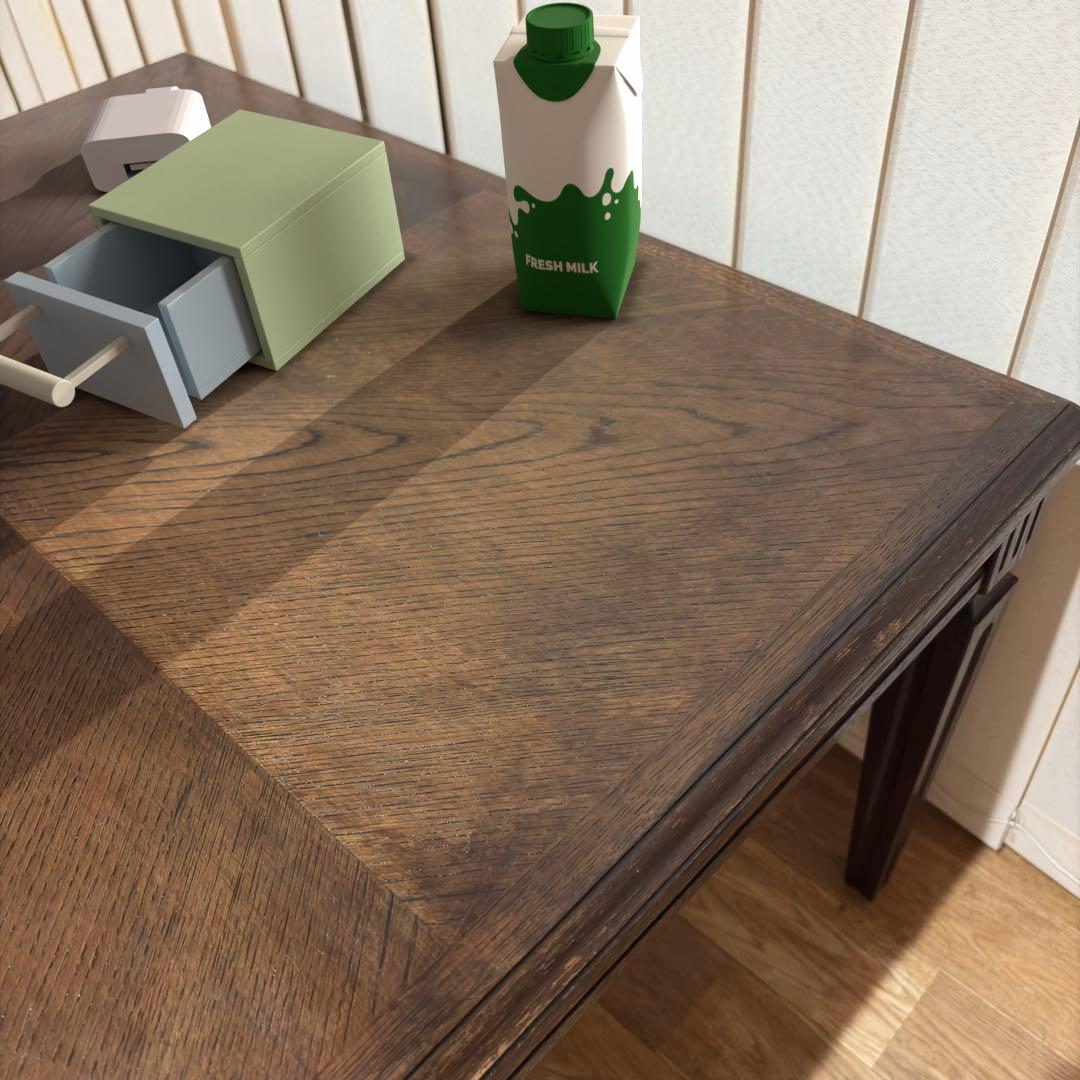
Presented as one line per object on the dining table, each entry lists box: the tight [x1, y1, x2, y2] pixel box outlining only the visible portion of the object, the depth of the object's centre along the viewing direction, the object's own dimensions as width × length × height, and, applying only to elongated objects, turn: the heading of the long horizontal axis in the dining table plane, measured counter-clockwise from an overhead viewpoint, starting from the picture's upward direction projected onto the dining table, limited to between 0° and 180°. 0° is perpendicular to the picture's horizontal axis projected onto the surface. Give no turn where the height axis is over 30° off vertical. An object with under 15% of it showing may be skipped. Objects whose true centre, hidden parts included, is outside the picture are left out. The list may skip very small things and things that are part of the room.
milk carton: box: [492, 2, 644, 320], centre depth 71 cm, size 9×9×20 cm
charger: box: [80, 85, 212, 193], centre depth 97 cm, size 5×9×15 cm
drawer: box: [0, 221, 262, 429], centre depth 70 cm, size 21×12×8 cm, turn 150°
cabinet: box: [88, 109, 406, 372], centre depth 77 cm, size 16×14×10 cm
